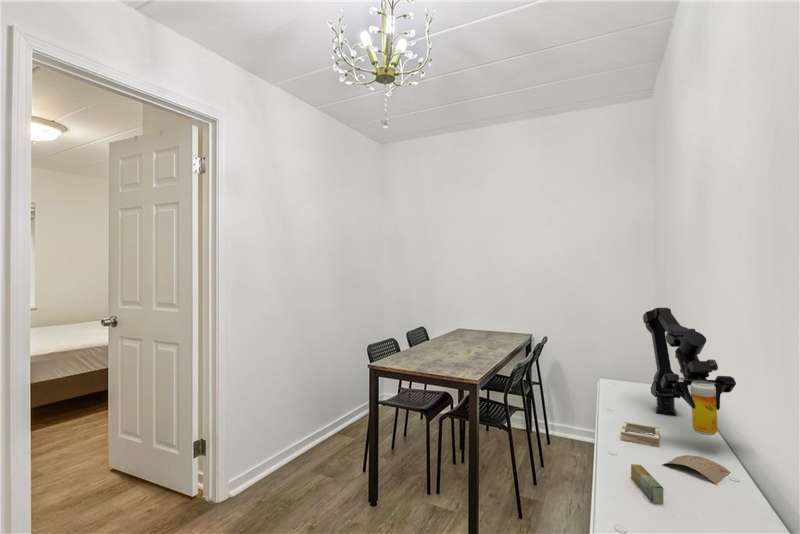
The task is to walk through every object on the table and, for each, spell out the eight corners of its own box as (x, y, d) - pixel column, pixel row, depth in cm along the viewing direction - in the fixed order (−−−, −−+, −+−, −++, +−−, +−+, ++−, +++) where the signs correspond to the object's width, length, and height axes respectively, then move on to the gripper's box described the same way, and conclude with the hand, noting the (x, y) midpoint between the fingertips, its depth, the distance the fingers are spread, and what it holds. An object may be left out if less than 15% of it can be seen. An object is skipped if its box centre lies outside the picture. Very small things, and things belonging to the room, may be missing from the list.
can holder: (623, 429, 137) (623, 421, 138) (659, 435, 132) (659, 427, 132) (621, 440, 129) (620, 432, 129) (659, 447, 123) (658, 439, 123)
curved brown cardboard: (659, 466, 112) (659, 456, 112) (675, 456, 118) (675, 447, 118) (721, 489, 100) (721, 478, 100) (736, 477, 106) (736, 467, 106)
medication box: (664, 504, 94) (664, 488, 94) (652, 504, 94) (652, 487, 94) (641, 478, 106) (640, 463, 106) (630, 478, 106) (630, 463, 106)
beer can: (718, 437, 116) (716, 386, 116) (693, 433, 119) (691, 384, 119) (716, 430, 121) (714, 381, 121) (691, 426, 124) (689, 379, 124)
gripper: (662, 348, 127) (676, 393, 116) (731, 350, 121) (753, 397, 111) (655, 367, 134) (668, 411, 123) (720, 369, 129) (739, 415, 118)
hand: (706, 408), depth 119 cm, fingers closed on beer can, 6 cm apart
